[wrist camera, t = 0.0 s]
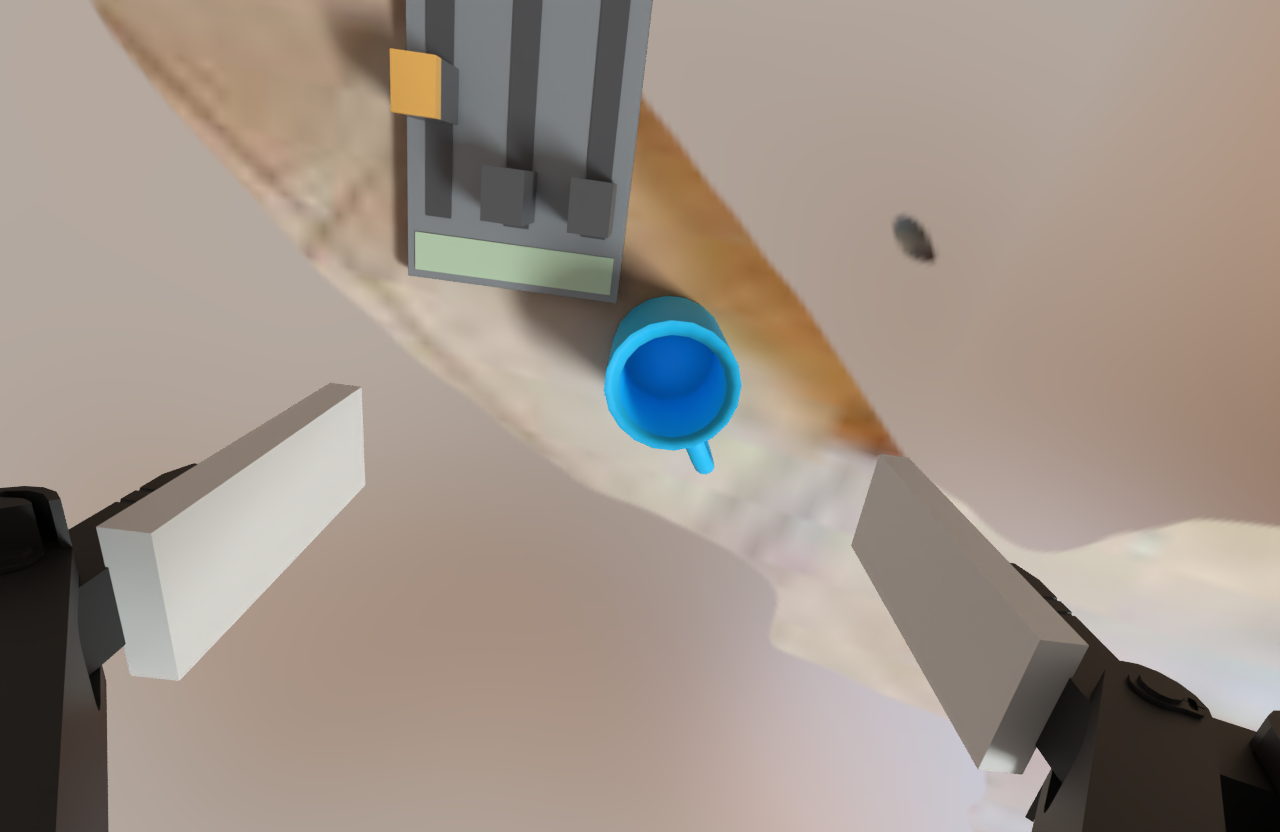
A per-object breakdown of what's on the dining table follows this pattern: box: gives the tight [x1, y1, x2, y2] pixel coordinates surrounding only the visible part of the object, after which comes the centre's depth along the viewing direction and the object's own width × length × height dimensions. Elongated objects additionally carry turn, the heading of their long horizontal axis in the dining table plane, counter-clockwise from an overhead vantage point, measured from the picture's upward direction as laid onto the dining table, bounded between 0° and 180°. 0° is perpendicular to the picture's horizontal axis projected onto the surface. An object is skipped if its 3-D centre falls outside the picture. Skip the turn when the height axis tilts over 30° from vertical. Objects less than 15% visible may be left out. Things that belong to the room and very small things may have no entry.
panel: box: [406, 0, 653, 303], centre depth 36 cm, size 22×14×2 cm, turn 172°
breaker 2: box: [567, 177, 617, 238], centre depth 36 cm, size 3×2×4 cm
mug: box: [604, 296, 741, 474], centre depth 40 cm, size 12×8×8 cm
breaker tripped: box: [390, 48, 459, 125], centre depth 33 cm, size 3×2×4 cm
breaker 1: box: [480, 165, 538, 226], centre depth 35 cm, size 3×2×4 cm
